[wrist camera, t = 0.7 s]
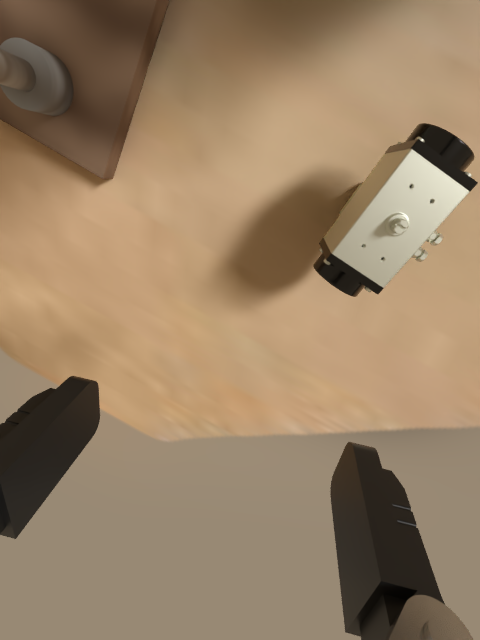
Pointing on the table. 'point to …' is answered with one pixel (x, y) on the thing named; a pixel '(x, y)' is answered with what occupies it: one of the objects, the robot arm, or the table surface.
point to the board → (76, 72)
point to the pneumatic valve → (396, 211)
